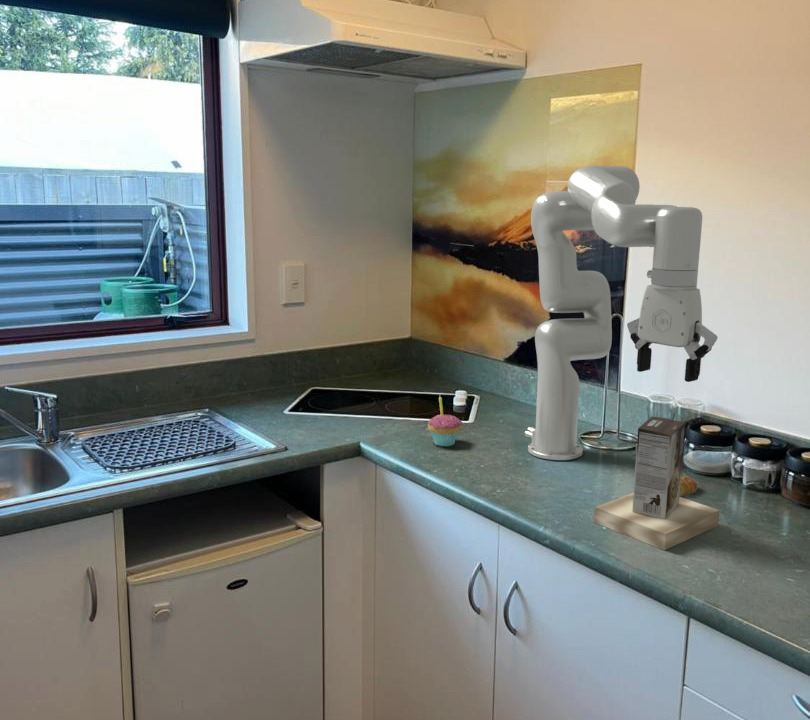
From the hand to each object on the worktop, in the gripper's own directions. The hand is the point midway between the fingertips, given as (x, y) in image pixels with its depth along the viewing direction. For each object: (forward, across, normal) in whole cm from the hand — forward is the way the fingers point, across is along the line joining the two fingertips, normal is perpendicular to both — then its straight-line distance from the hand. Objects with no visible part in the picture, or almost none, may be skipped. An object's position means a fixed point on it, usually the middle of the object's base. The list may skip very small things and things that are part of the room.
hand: (666, 375), depth 142 cm
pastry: (+29, -8, +17) cm, 34 cm away
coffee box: (+25, 0, 0) cm, 25 cm away
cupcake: (+28, -60, +1) cm, 66 cm away
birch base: (+28, 0, 0) cm, 28 cm away
